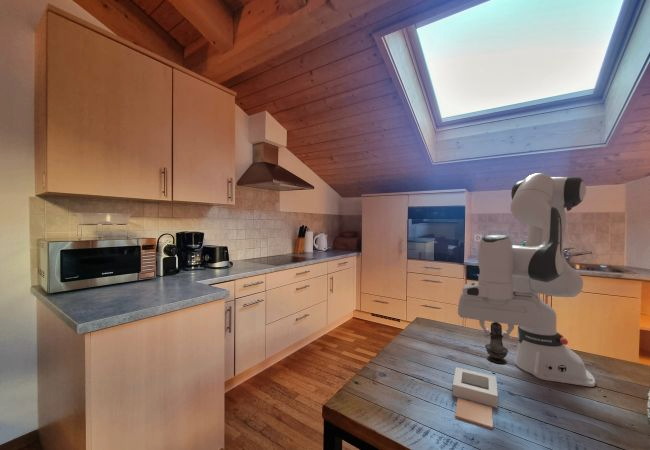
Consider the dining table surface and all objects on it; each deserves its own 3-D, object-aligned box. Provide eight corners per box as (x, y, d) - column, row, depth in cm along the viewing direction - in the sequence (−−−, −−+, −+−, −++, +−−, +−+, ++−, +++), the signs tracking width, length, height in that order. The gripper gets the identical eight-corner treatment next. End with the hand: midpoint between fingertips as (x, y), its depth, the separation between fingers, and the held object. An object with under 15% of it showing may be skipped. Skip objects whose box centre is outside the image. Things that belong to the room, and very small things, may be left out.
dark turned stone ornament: (482, 360, 81) (482, 319, 81) (488, 353, 85) (487, 315, 85) (506, 367, 76) (505, 324, 77) (510, 360, 81) (510, 319, 81)
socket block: (496, 386, 90) (496, 376, 90) (497, 408, 80) (497, 396, 80) (456, 377, 96) (455, 367, 96) (452, 395, 86) (452, 384, 86)
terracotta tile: (492, 409, 79) (492, 407, 79) (493, 429, 72) (493, 427, 72) (457, 399, 84) (457, 397, 84) (455, 417, 76) (455, 415, 76)
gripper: (537, 291, 78) (538, 339, 78) (458, 284, 88) (459, 327, 88) (542, 296, 73) (542, 348, 73) (457, 288, 83) (457, 334, 83)
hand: (496, 336), depth 81 cm, fingers closed on dark turned stone ornament, 4 cm apart
